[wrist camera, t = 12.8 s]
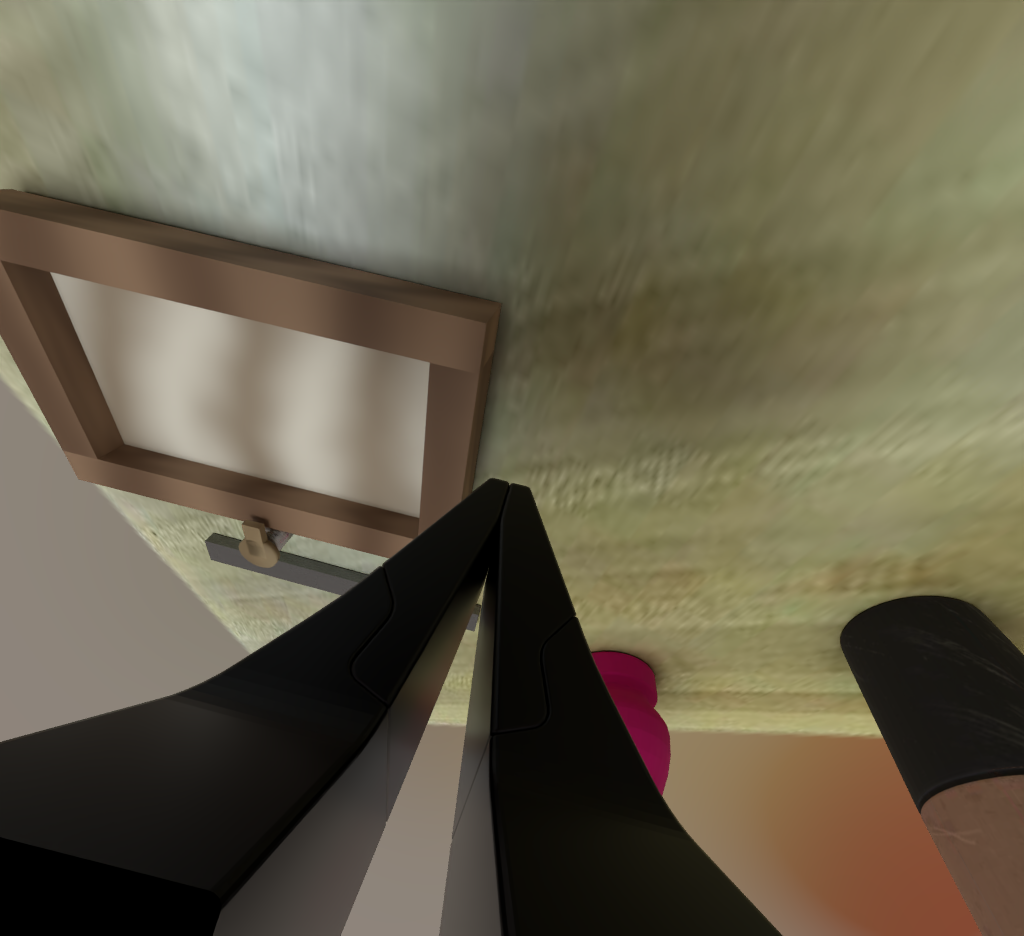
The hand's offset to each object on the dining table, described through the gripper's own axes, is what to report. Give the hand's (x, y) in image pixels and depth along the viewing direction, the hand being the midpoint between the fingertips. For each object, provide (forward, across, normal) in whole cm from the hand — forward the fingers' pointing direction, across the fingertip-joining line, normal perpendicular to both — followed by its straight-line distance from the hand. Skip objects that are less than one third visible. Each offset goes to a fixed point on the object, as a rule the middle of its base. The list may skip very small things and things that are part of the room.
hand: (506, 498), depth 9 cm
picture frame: (+11, +13, +8) cm, 19 cm away
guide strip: (+12, +10, +21) cm, 26 cm away
